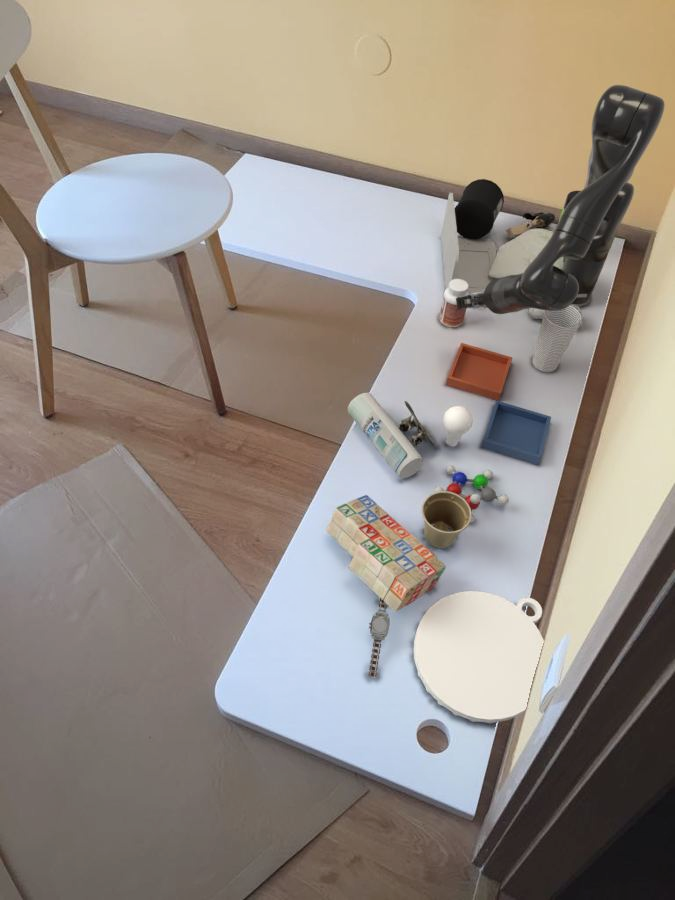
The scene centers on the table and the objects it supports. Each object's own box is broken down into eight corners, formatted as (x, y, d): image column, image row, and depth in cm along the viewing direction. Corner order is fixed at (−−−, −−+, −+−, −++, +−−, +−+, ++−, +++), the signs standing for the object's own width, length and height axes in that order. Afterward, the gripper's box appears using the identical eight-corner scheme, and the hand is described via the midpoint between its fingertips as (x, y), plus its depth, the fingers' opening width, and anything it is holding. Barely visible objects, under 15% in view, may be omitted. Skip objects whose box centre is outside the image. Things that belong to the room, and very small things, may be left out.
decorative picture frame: (439, 462, 154) (414, 456, 164) (458, 439, 155) (433, 435, 165) (403, 422, 150) (380, 419, 160) (423, 399, 151) (399, 397, 161)
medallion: (485, 749, 119) (482, 754, 121) (588, 649, 131) (584, 654, 132) (386, 641, 129) (385, 647, 131) (490, 557, 141) (487, 564, 143)
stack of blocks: (355, 516, 148) (314, 535, 139) (366, 493, 145) (325, 510, 136) (433, 589, 139) (394, 613, 130) (447, 566, 136) (408, 589, 127)
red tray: (459, 350, 179) (461, 342, 177) (510, 364, 177) (512, 357, 175) (445, 385, 172) (447, 377, 170) (498, 400, 170) (501, 393, 168)
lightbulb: (468, 438, 162) (478, 404, 154) (461, 458, 159) (471, 425, 150) (441, 430, 163) (449, 396, 155) (434, 450, 160) (442, 417, 151)
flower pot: (449, 564, 142) (458, 541, 135) (407, 541, 145) (412, 517, 138) (471, 530, 147) (479, 505, 140) (429, 508, 150) (436, 483, 143)
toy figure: (525, 232, 201) (560, 221, 208) (516, 211, 201) (552, 200, 208) (508, 243, 207) (542, 231, 215) (499, 222, 207) (534, 211, 214)
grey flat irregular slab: (484, 281, 188) (511, 214, 205) (480, 294, 192) (506, 227, 209) (552, 303, 186) (573, 234, 203) (546, 317, 190) (567, 247, 206)
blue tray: (493, 407, 168) (496, 400, 166) (548, 423, 166) (551, 416, 164) (480, 447, 161) (483, 440, 159) (537, 465, 159) (541, 458, 157)
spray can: (393, 481, 152) (342, 415, 162) (415, 476, 156) (364, 412, 166) (407, 459, 148) (354, 393, 158) (429, 455, 152) (376, 391, 162)
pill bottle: (468, 322, 185) (477, 288, 177) (449, 331, 183) (457, 296, 174) (452, 308, 188) (460, 273, 180) (433, 316, 186) (440, 281, 177)
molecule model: (424, 479, 158) (436, 524, 147) (430, 453, 153) (442, 497, 142) (493, 481, 159) (509, 526, 149) (500, 454, 155) (517, 499, 144)
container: (448, 241, 207) (465, 209, 218) (491, 246, 203) (506, 213, 214) (448, 201, 198) (466, 170, 209) (493, 205, 194) (509, 173, 205)
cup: (566, 358, 179) (586, 309, 167) (557, 381, 174) (577, 332, 162) (532, 346, 181) (549, 297, 169) (522, 369, 176) (540, 319, 164)
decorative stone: (526, 325, 186) (532, 309, 182) (527, 308, 190) (532, 292, 186) (579, 334, 185) (586, 318, 181) (579, 316, 189) (585, 301, 185)
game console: (503, 307, 189) (518, 259, 177) (446, 304, 189) (456, 254, 177) (493, 241, 207) (505, 192, 195) (440, 237, 206) (449, 188, 194)
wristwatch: (392, 600, 137) (394, 595, 132) (380, 680, 131) (381, 678, 127) (372, 596, 137) (374, 591, 132) (360, 677, 132) (361, 674, 127)
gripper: (538, 271, 154) (503, 280, 170) (475, 280, 151) (445, 289, 167) (542, 307, 155) (507, 313, 171) (479, 317, 152) (450, 322, 168)
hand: (477, 301), depth 169 cm, fingers open, 8 cm apart
